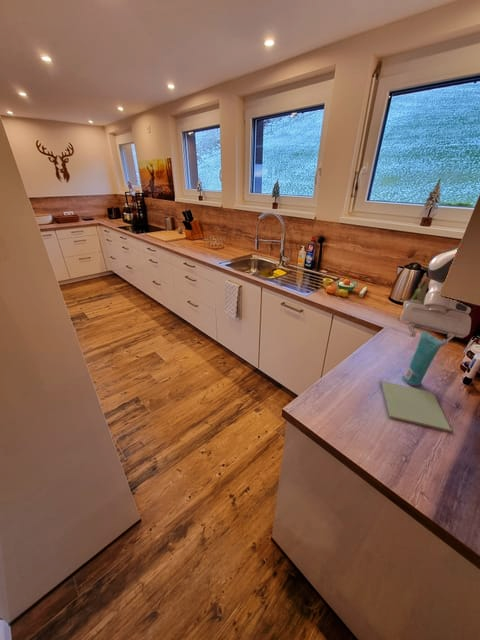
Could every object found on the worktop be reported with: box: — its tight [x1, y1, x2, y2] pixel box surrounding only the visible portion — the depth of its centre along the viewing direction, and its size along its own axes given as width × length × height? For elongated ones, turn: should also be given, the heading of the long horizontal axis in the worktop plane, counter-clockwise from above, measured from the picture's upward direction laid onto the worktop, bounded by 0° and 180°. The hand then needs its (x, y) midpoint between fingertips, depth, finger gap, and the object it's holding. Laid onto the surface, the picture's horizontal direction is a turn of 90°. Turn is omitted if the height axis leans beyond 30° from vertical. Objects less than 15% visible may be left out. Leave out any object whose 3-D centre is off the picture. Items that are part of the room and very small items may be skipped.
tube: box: [404, 329, 444, 387], centre depth 90 cm, size 7×5×19 cm, turn 20°
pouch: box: [410, 272, 429, 302], centre depth 130 cm, size 11×12×25 cm
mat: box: [381, 381, 452, 433], centre depth 84 cm, size 16×16×1 cm
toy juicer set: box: [322, 277, 368, 298], centre depth 166 cm, size 29×18×8 cm, turn 79°
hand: (427, 340), depth 91 cm, fingers open, 8 cm apart
